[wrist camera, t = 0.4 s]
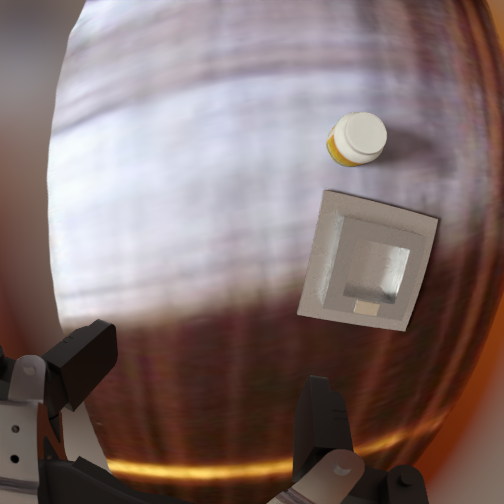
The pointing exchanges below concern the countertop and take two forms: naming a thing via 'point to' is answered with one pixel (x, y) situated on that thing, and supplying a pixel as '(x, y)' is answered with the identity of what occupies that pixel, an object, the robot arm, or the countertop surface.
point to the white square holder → (366, 262)
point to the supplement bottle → (356, 139)
